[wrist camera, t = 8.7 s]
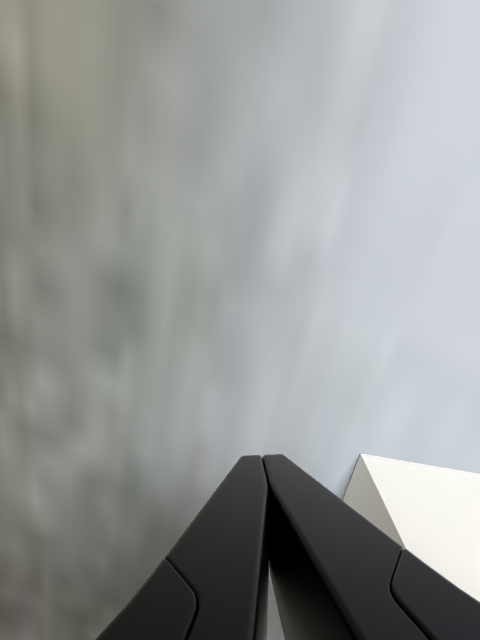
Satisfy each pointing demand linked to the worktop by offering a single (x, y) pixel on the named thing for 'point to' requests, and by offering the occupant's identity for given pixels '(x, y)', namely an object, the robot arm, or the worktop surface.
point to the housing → (423, 513)
